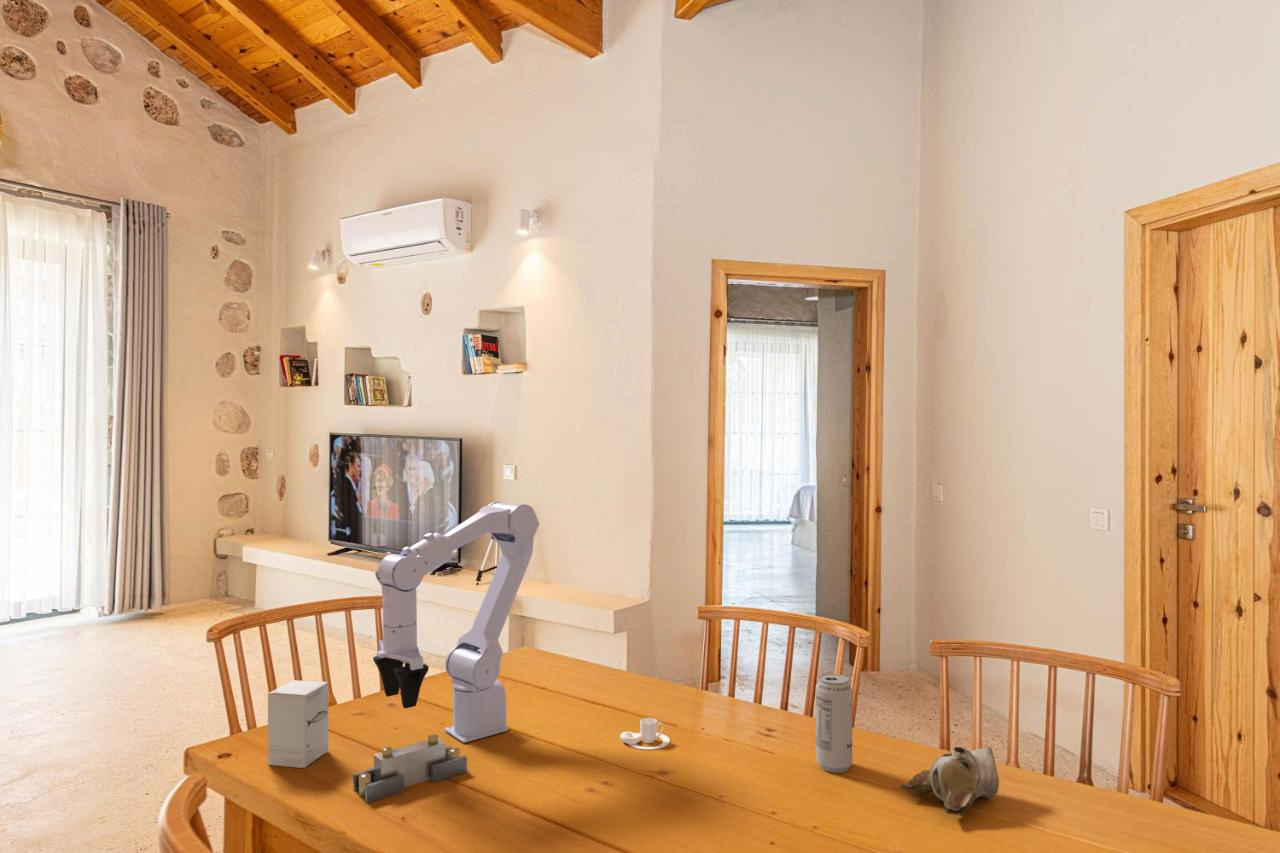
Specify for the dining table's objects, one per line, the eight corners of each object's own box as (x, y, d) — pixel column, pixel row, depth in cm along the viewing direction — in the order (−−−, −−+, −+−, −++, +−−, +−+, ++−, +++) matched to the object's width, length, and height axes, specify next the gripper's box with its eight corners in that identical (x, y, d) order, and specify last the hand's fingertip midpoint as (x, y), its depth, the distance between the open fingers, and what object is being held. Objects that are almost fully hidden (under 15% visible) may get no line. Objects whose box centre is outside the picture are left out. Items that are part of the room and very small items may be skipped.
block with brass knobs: (437, 769, 139) (437, 731, 139) (445, 775, 137) (445, 736, 137) (374, 788, 132) (373, 748, 132) (381, 795, 130) (381, 754, 130)
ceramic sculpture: (1019, 748, 125) (947, 774, 118) (1021, 804, 125) (951, 833, 118) (962, 725, 134) (894, 748, 128) (965, 777, 135) (897, 803, 128)
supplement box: (305, 769, 139) (304, 695, 139) (266, 765, 141) (265, 692, 141) (330, 751, 147) (329, 681, 146) (293, 748, 148) (292, 678, 148)
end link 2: (451, 760, 143) (451, 743, 142) (467, 772, 138) (467, 754, 138) (418, 770, 139) (417, 752, 139) (433, 782, 134) (433, 764, 134)
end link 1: (389, 778, 136) (389, 760, 135) (404, 791, 131) (404, 772, 131) (352, 789, 132) (352, 770, 132) (366, 803, 127) (366, 783, 127)
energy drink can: (857, 773, 136) (857, 683, 136) (821, 774, 136) (821, 684, 136) (845, 758, 142) (845, 672, 142) (811, 759, 142) (811, 673, 142)
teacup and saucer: (615, 747, 149) (615, 725, 149) (632, 731, 156) (632, 710, 156) (660, 754, 145) (660, 732, 145) (676, 738, 153) (676, 716, 153)
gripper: (362, 619, 147) (362, 694, 147) (394, 636, 136) (395, 717, 136) (399, 613, 151) (400, 686, 151) (434, 628, 140) (435, 708, 140)
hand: (400, 700), depth 144 cm, fingers open, 7 cm apart
